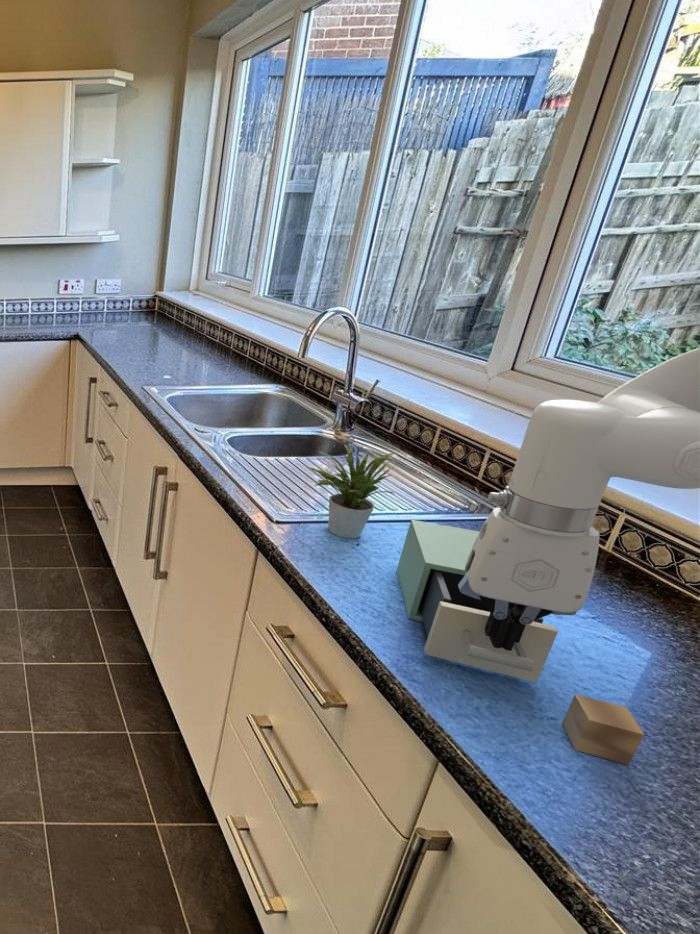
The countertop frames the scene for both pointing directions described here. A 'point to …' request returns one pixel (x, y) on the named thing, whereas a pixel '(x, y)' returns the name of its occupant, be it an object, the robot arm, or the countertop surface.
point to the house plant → (352, 494)
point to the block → (602, 729)
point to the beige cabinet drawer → (477, 631)
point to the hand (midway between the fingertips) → (499, 642)
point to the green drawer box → (430, 558)
